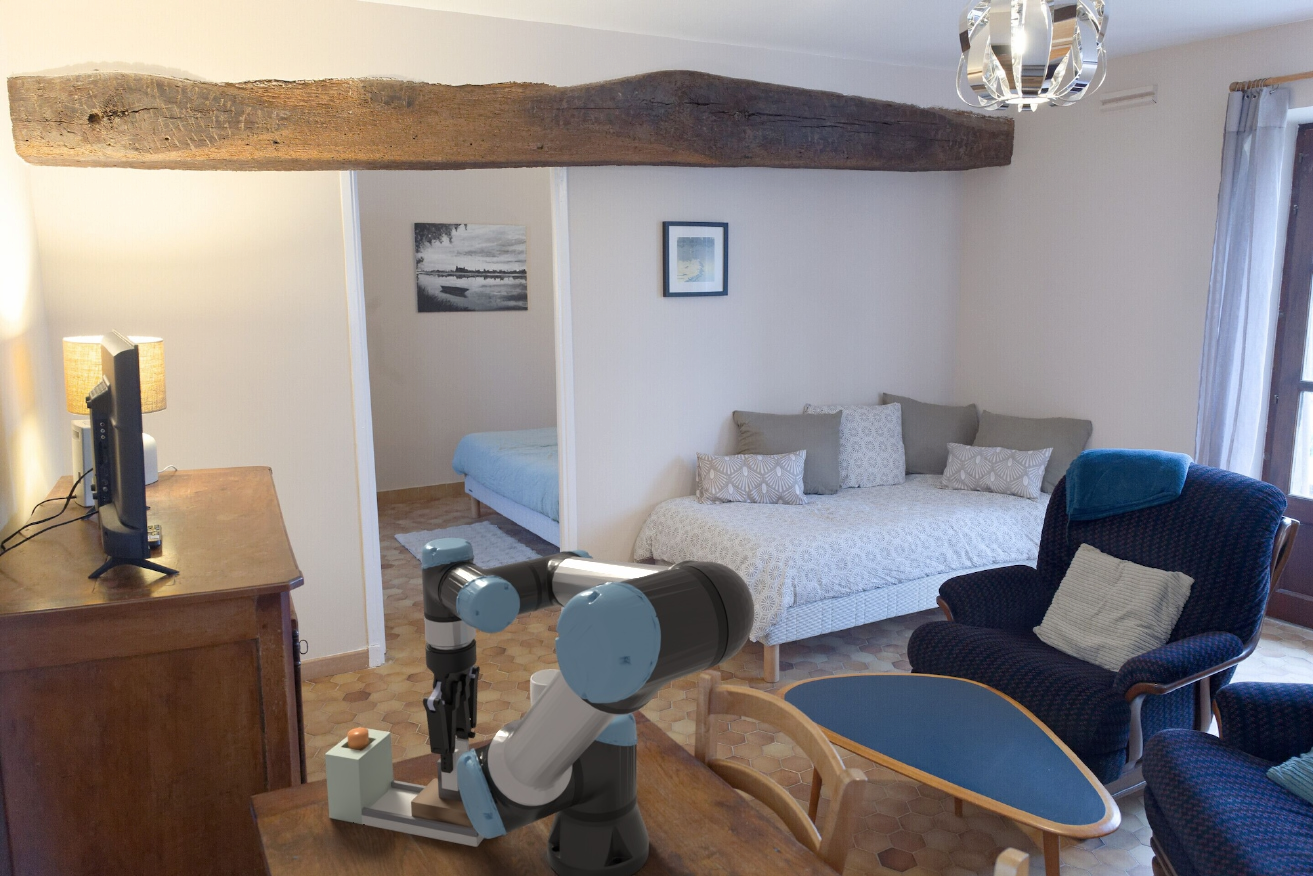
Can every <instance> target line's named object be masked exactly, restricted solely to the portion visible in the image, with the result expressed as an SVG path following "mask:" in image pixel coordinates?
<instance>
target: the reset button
mask: <svg viewBox="0 0 1313 876" xmlns="http://www.w3.org/2000/svg"><path fill="white" fill-rule="evenodd" d="M366 728H367V727H361V728H359V727H355V728H353V729H350V730H349V731H348V732H347V736H348V749H354V750H360V751H362V750H364V749H365V748H366V747H367V746H368V745H369V733H368V729H369V728H367V729H366ZM347 736H346V737H347Z"/></svg>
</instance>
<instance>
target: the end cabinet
mask: <svg viewBox="0 0 1313 876" xmlns="http://www.w3.org/2000/svg"><path fill="white" fill-rule="evenodd" d="M358 728H362V727H361V726H359V727H358ZM365 728H366V729H368V733H369V745H368V746H367V747H366V748H365V749H364V750H362V751H360V750H354V749H348V736H346V737H345V738H343V739H342V740H341V741H339V742H338V743H337V744H336V745H335V746H333V747H332V748H330V749H329V750H328V751H327V752H326V753H324V759H325V760H324V761H325V772H326V789H327V800H328V802H327V803H328V814H329V815H328V816H329V819H334V820H338V821H339V820H340V821H342V822H343V821H344V822H349V823H353V822H354V823H355V824H359V825H363V824H362V809H363V808H364V807H365V808H370V807H371V806H372V805H373V804H374V803H376V802H377V801H378V800H379V799H380V798H381V797H382V796H383V795H384V794H385V793H386V792H387V791H388V790H389V789H390V788H391V782H392V781H393V780H394V770H393V769H394V767H393V751H392V750H393V749H392V734H391V732H390V731H386V730H385V731H384V730H378V729H372V728H367V727H365Z"/></svg>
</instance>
